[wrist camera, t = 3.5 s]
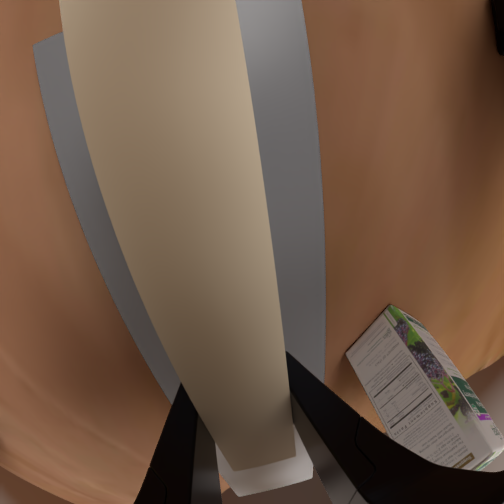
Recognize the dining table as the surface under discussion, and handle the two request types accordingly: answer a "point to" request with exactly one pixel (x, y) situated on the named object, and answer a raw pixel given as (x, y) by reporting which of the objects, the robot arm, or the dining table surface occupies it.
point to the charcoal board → (273, 169)
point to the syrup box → (423, 394)
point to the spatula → (192, 213)
